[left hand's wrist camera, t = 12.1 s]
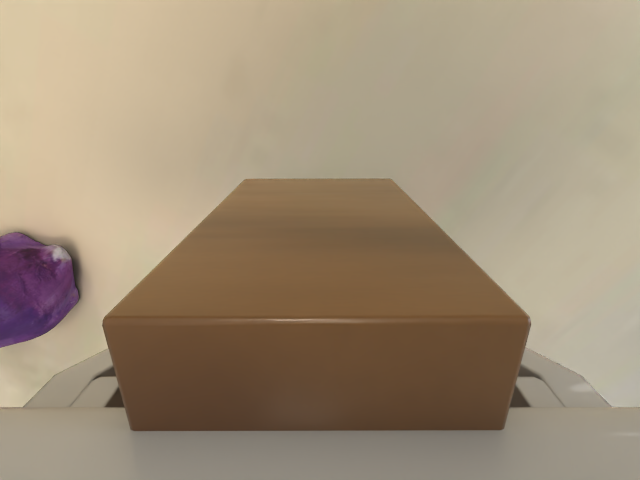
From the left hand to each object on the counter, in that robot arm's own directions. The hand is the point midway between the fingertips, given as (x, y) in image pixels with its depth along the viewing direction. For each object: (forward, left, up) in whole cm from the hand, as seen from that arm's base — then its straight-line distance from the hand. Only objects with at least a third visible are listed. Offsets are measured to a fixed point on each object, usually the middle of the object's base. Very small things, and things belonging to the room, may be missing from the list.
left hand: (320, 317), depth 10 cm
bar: (+8, -7, -3) cm, 11 cm away
